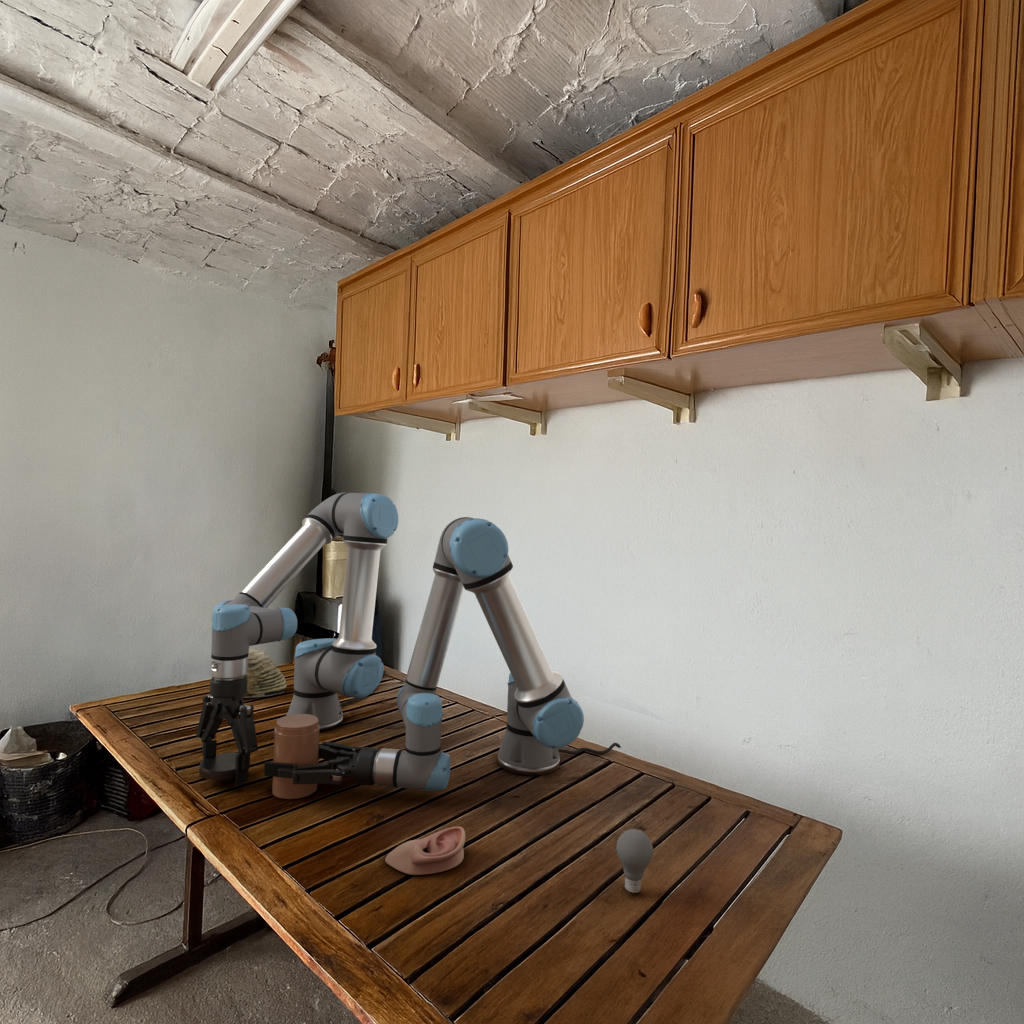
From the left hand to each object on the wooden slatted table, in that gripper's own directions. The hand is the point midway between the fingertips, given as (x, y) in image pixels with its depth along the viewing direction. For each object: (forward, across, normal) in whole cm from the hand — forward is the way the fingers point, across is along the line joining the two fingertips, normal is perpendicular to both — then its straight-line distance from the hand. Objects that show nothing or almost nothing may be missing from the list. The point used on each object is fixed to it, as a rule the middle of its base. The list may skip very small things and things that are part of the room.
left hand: (224, 776), depth 139 cm
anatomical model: (+1, +55, 0) cm, 55 cm away
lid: (-3, 0, 0) cm, 3 cm away
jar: (+1, +15, +6) cm, 16 cm away
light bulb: (+1, +89, +10) cm, 90 cm away
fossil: (+1, -44, +43) cm, 62 cm away
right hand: (-5, +11, +4) cm, 13 cm away
